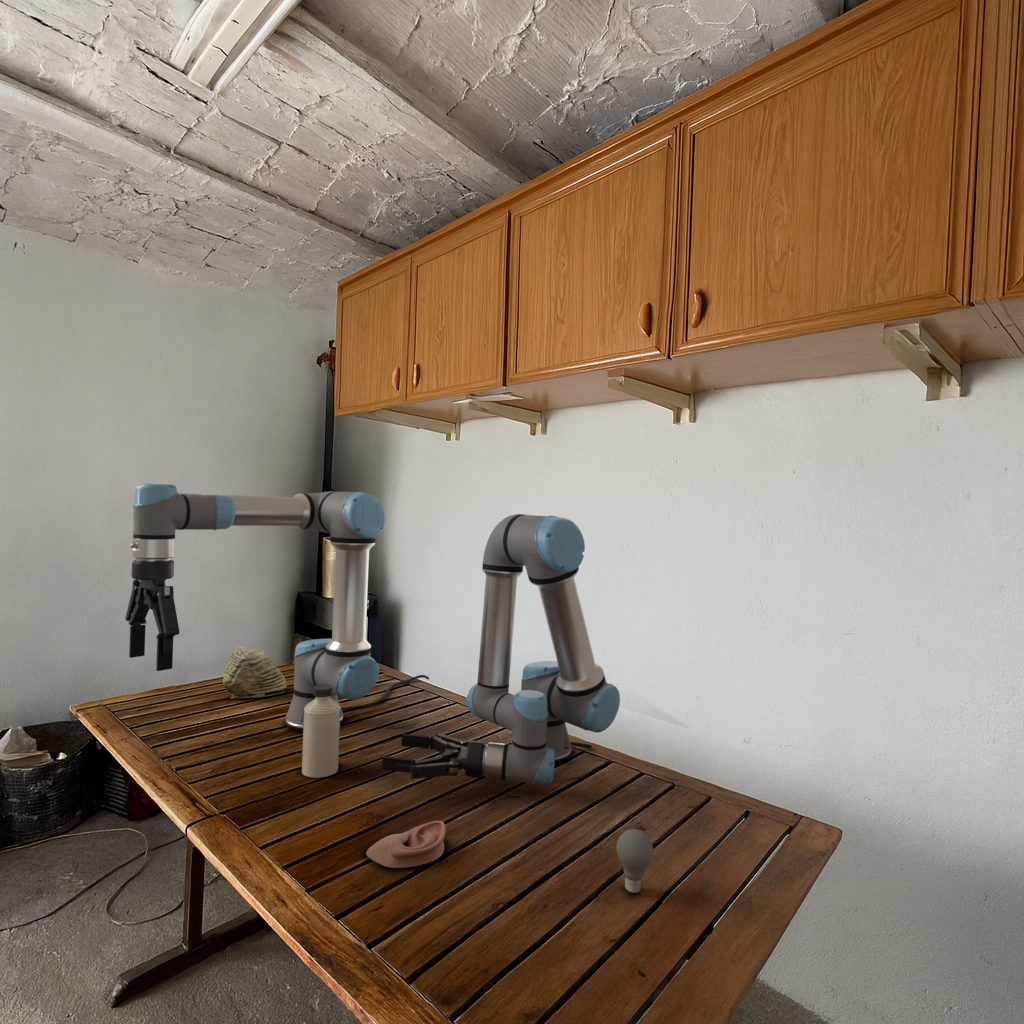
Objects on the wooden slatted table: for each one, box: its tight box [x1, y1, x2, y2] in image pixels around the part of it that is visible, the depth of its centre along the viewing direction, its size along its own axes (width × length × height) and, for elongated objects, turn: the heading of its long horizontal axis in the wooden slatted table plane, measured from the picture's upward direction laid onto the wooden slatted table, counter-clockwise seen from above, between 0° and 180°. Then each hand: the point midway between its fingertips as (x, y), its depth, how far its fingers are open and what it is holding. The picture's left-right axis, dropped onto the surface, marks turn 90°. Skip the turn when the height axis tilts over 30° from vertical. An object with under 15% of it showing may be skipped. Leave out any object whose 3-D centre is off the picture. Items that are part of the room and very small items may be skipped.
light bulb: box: [615, 828, 654, 894], centre depth 106 cm, size 6×6×10 cm
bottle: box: [301, 696, 342, 779], centre depth 146 cm, size 8×8×19 cm
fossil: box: [222, 646, 288, 699], centre depth 198 cm, size 9×18×15 cm, turn 132°
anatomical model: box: [365, 820, 447, 869], centre depth 114 cm, size 13×4×12 cm
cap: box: [313, 684, 333, 697], centre depth 146 cm, size 4×4×2 cm
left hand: (150, 663), depth 129 cm, fingers open, 13 cm apart
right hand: (392, 750), depth 144 cm, fingers open, 13 cm apart
